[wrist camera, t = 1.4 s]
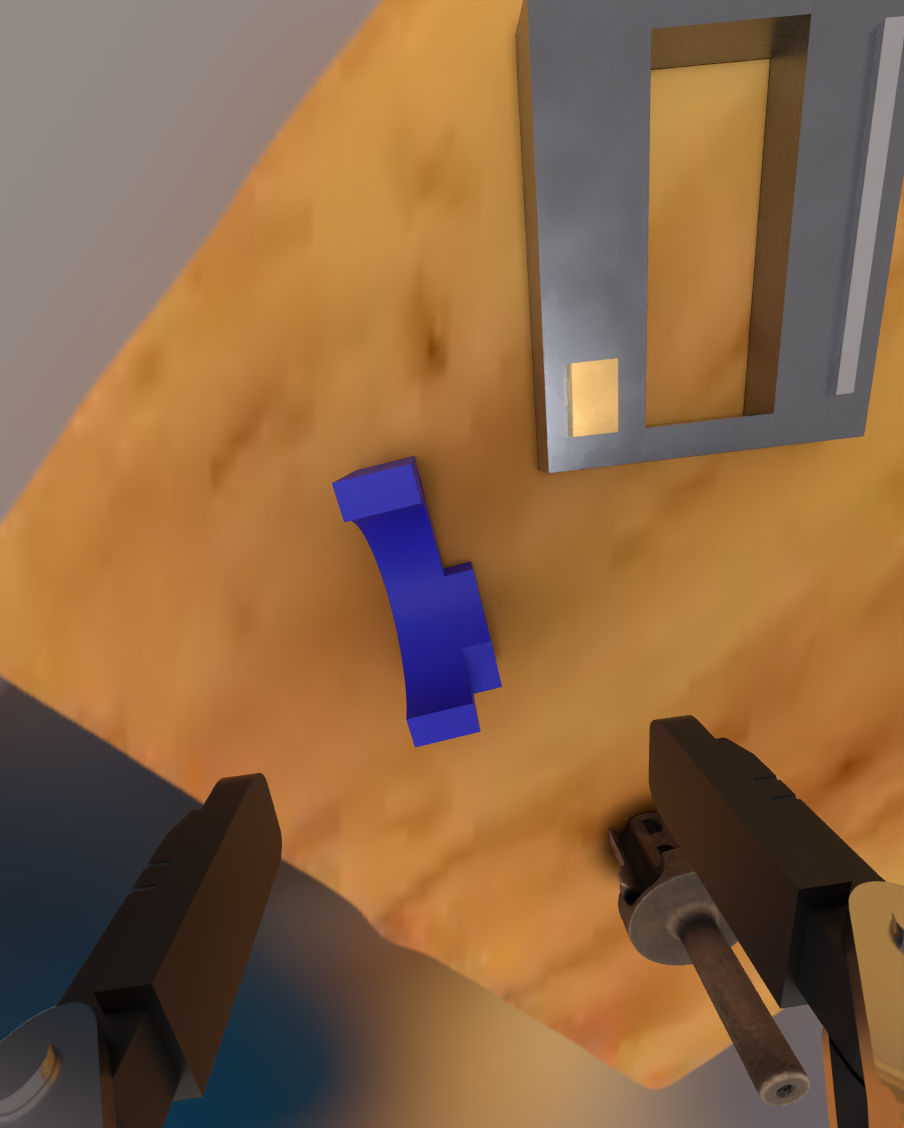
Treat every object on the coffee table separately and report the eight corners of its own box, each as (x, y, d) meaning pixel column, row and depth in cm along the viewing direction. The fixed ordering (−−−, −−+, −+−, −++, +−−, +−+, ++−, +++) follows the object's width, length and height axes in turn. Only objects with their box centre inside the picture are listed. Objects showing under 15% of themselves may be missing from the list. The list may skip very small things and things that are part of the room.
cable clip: (493, 658, 26) (513, 723, 20) (417, 676, 26) (415, 747, 20) (443, 448, 22) (450, 453, 16) (356, 470, 22) (332, 483, 16)
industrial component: (569, 846, 30) (660, 1108, 18) (645, 773, 28) (796, 1006, 17) (663, 905, 32) (799, 1173, 20) (738, 840, 30) (930, 1087, 19)
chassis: (883, 0, 18) (957, -70, 15) (826, 435, 23) (876, 436, 20) (515, 33, 18) (530, -33, 15) (538, 469, 22) (552, 474, 20)
